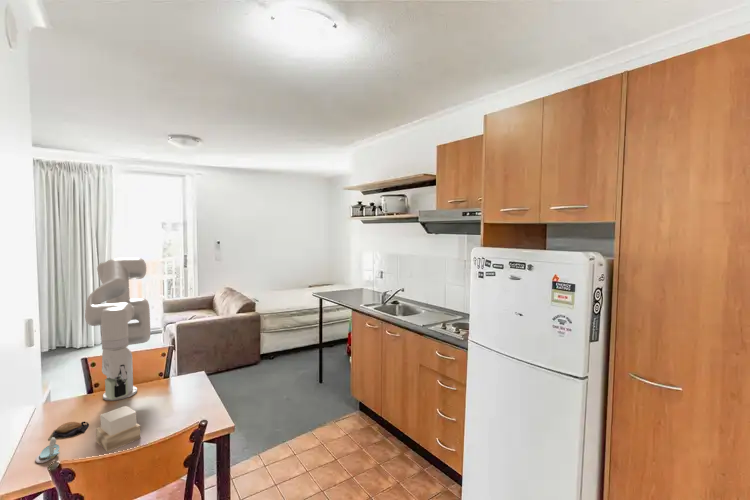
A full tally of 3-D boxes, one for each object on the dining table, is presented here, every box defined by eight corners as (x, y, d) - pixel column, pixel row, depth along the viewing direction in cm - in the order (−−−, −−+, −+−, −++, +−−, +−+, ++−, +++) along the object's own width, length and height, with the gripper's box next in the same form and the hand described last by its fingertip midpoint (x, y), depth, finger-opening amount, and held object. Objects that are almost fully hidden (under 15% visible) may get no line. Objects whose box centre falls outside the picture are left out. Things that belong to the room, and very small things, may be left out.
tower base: (96, 442, 127) (95, 428, 127) (128, 429, 136) (128, 416, 135) (107, 453, 122) (107, 438, 121) (140, 439, 130) (140, 425, 130)
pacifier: (35, 467, 114) (60, 459, 118) (33, 448, 113) (58, 440, 117) (35, 456, 119) (59, 448, 123) (33, 438, 119) (58, 431, 123)
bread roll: (46, 443, 127) (46, 433, 127) (54, 430, 134) (54, 421, 134) (84, 436, 132) (84, 426, 131) (90, 424, 139) (90, 414, 139)
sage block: (105, 395, 127) (105, 379, 126) (121, 390, 131) (121, 374, 131) (111, 399, 124) (110, 382, 124) (127, 394, 128) (127, 377, 128)
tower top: (100, 428, 127) (100, 414, 127) (126, 418, 134) (126, 405, 134) (110, 436, 123) (110, 421, 123) (136, 425, 129) (136, 412, 129)
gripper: (92, 340, 128) (94, 391, 129) (113, 350, 118) (114, 405, 120) (117, 335, 134) (118, 383, 135) (138, 345, 125) (139, 396, 126)
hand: (116, 393), depth 127 cm, fingers closed on sage block, 5 cm apart
